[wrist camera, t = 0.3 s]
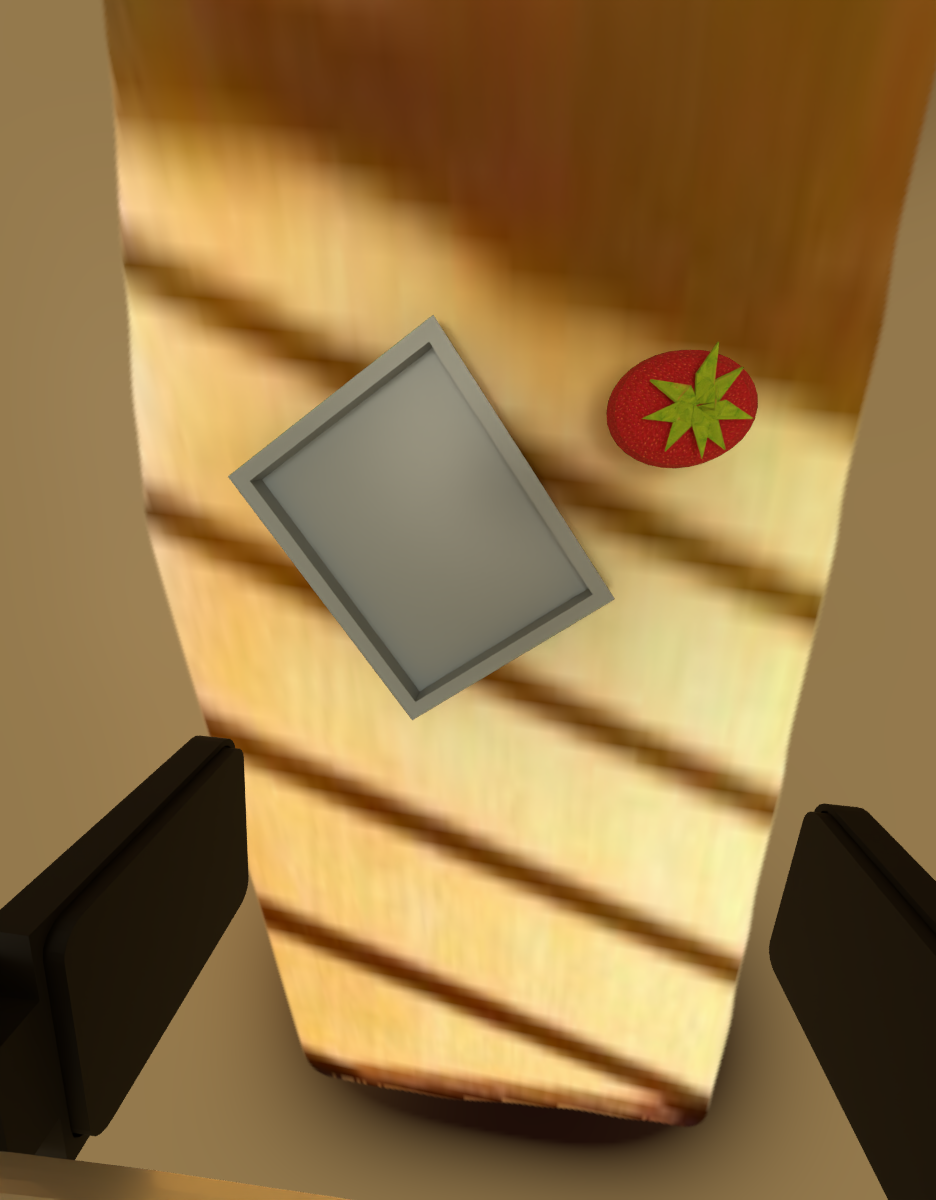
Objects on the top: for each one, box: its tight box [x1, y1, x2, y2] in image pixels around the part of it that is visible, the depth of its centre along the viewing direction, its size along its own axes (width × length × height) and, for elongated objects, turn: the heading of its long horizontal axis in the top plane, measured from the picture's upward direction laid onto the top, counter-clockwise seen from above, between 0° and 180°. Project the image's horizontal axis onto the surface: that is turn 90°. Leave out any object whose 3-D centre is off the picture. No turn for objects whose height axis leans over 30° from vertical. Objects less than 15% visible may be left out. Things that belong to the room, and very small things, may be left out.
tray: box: [228, 315, 614, 720], centre depth 36 cm, size 16×20×2 cm
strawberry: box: [607, 342, 758, 468], centre depth 29 cm, size 6×8×10 cm
